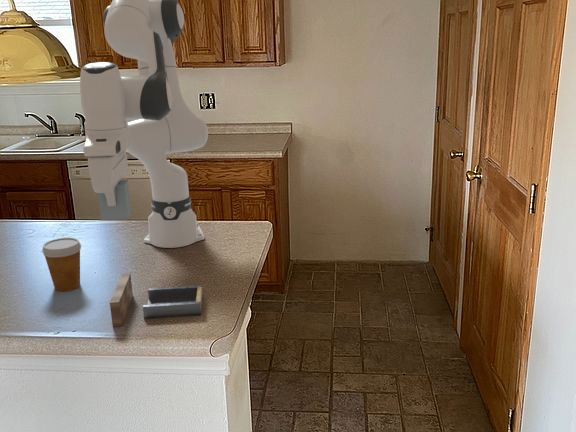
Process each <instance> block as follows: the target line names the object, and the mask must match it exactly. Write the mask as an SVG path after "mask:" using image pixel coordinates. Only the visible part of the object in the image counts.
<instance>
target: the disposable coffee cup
mask: <svg viewBox="0 0 576 432" xmlns="http://www.w3.org/2000/svg"><path fill="white" fill-rule="evenodd" d="M81 249H82V243H80V241H79V239H77V238H75V237H60V238H54V239H51V240H49V241H46V242H44V244H43V245H42V249H41V253H42V254H43V256H44V258H45V261H46V264H47V268H48V270H49V271H48V272H49V276H50V277H51V281H52V285H53V287H54V290H55V291H58V292H68V291H69V292H70V291H73V290H77V288H79V287H80V285H81Z"/></svg>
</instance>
